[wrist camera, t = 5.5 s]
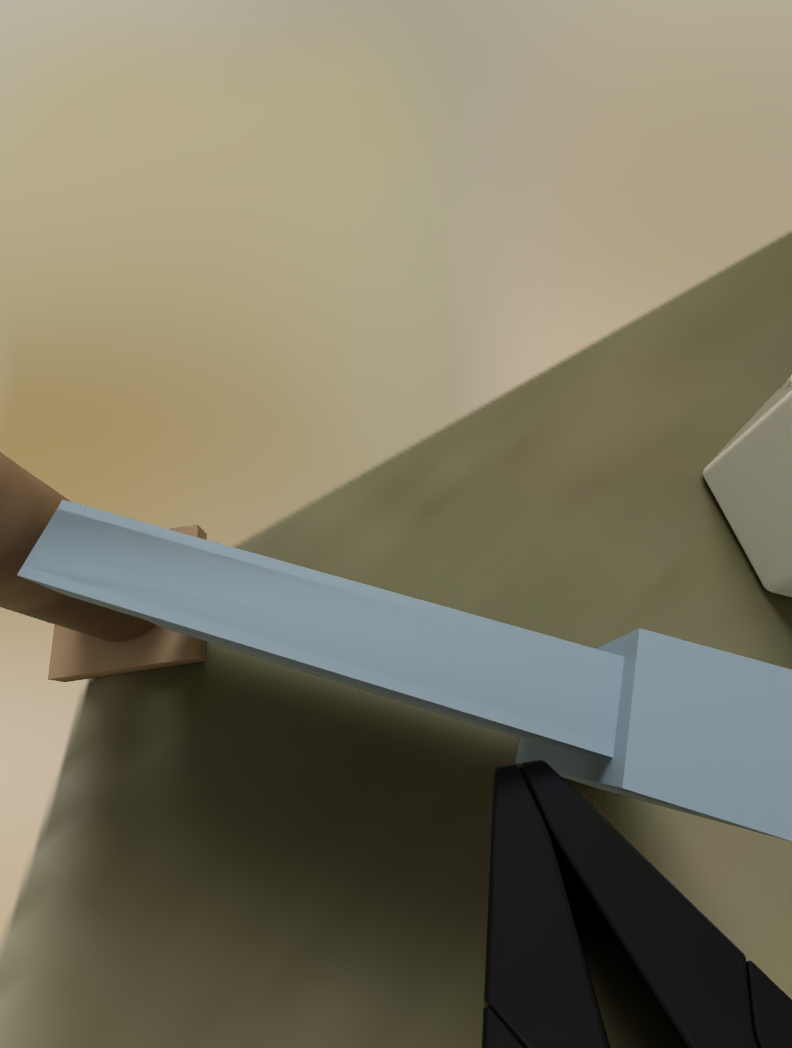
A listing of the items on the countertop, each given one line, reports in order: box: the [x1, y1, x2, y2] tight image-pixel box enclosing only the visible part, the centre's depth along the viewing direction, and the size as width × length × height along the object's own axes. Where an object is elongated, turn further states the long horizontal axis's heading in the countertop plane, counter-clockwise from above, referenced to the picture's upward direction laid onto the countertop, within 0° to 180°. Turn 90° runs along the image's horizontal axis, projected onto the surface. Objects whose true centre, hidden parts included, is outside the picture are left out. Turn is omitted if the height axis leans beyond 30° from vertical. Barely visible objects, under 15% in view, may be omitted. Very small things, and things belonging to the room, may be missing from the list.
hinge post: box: [0, 452, 206, 682], centre depth 12 cm, size 4×4×10 cm
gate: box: [17, 500, 792, 841], centre depth 12 cm, size 13×2×8 cm, turn 74°
